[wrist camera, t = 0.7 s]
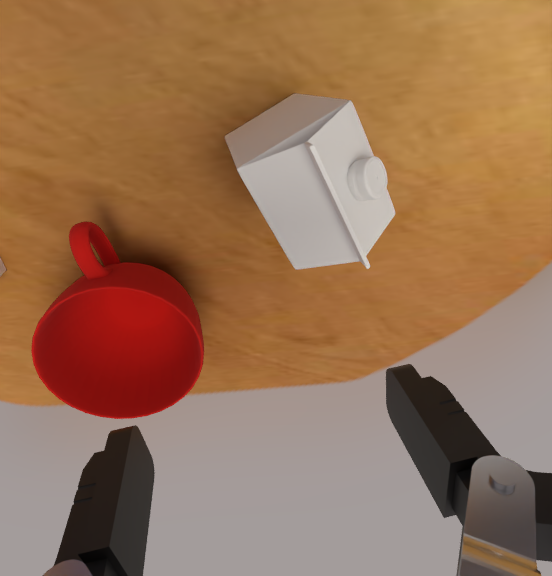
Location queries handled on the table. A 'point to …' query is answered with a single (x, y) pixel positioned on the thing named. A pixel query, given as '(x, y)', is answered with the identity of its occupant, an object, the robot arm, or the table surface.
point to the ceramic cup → (118, 335)
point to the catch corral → (2, 267)
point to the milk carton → (314, 179)
